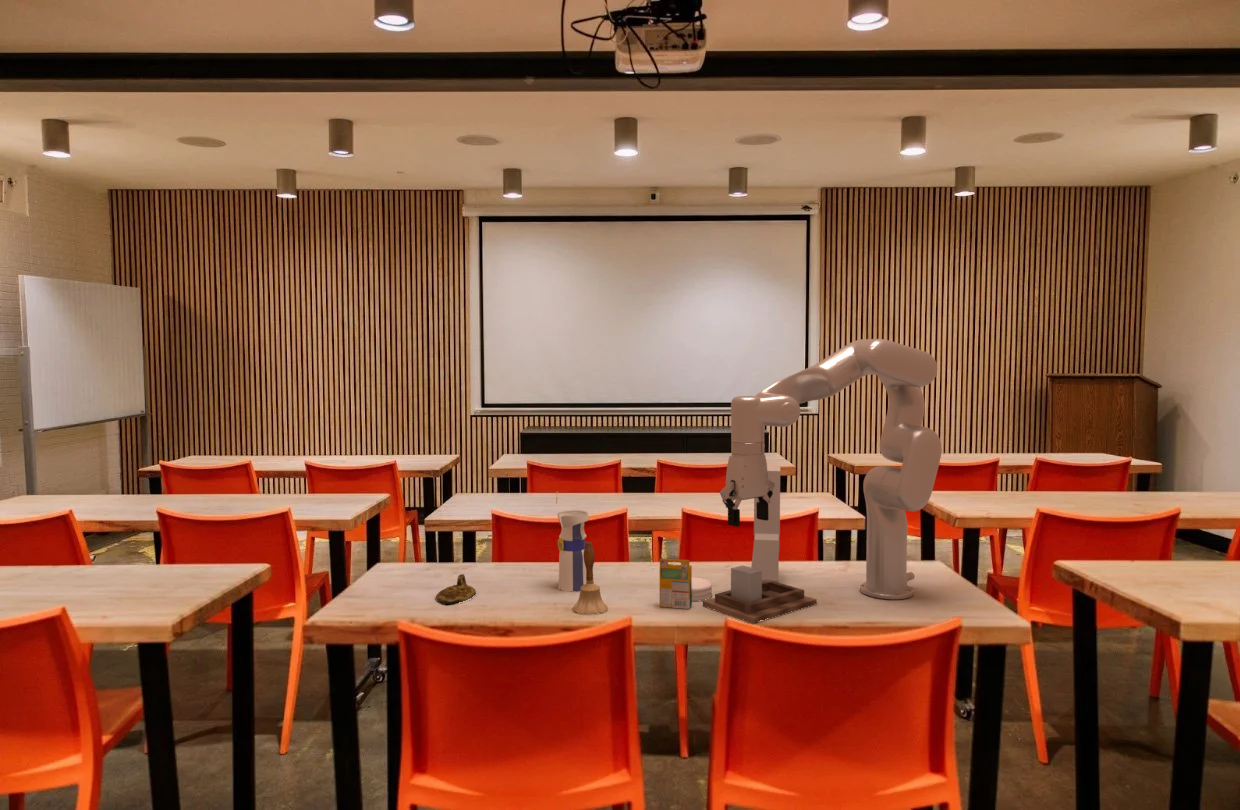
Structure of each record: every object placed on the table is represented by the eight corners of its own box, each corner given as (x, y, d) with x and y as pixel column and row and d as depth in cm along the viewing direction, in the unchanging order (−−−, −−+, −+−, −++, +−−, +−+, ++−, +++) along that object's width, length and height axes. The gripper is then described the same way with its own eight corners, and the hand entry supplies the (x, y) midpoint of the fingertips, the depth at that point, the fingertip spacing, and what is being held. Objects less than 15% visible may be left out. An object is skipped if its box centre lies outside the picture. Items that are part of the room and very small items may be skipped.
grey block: (742, 598, 187) (742, 565, 187) (761, 604, 182) (761, 570, 182) (730, 601, 185) (731, 568, 184) (750, 607, 180) (750, 573, 179)
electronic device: (779, 585, 203) (780, 469, 201) (750, 583, 204) (750, 469, 203) (779, 572, 215) (780, 463, 213) (751, 571, 216) (752, 462, 215)
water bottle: (563, 594, 196) (562, 494, 194) (552, 585, 203) (551, 489, 202) (594, 590, 199) (593, 492, 198) (582, 581, 207) (581, 487, 205)
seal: (468, 611, 187) (480, 592, 202) (469, 591, 187) (481, 574, 202) (429, 607, 187) (444, 588, 202) (430, 587, 187) (445, 570, 202)
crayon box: (692, 605, 186) (692, 557, 185) (689, 609, 183) (689, 560, 183) (661, 603, 188) (661, 555, 187) (659, 607, 185) (659, 558, 184)
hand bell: (595, 617, 178) (594, 547, 177) (565, 611, 182) (564, 543, 181) (614, 607, 185) (614, 540, 184) (585, 601, 189) (585, 536, 188)
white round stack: (720, 595, 195) (720, 581, 194) (695, 605, 187) (695, 590, 187) (687, 588, 201) (687, 574, 201) (663, 596, 194) (663, 582, 194)
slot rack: (765, 589, 199) (765, 576, 199) (816, 604, 187) (816, 591, 186) (702, 606, 185) (702, 592, 185) (753, 623, 173) (753, 609, 173)
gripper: (760, 445, 189) (761, 515, 190) (709, 451, 179) (710, 525, 180) (785, 447, 184) (785, 519, 185) (733, 454, 173) (734, 530, 174)
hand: (748, 522), depth 182 cm, fingers open, 9 cm apart
